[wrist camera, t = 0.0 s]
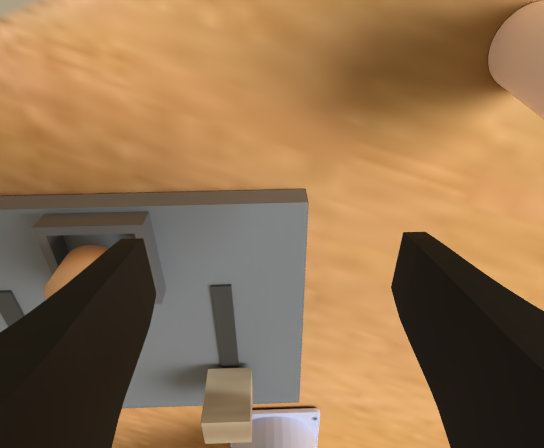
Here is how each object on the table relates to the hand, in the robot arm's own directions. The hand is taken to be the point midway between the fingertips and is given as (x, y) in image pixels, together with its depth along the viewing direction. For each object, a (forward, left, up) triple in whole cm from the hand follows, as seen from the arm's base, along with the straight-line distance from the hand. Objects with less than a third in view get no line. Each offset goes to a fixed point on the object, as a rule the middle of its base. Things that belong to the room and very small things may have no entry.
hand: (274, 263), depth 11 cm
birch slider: (-17, +3, -8) cm, 19 cm away
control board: (-12, +9, -10) cm, 18 cm away
